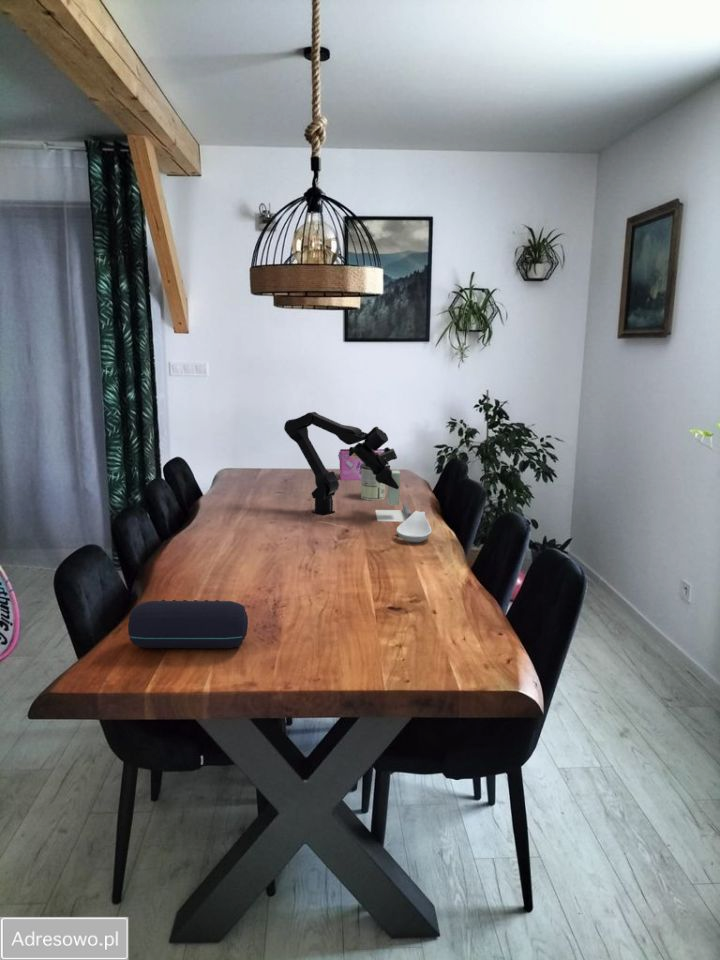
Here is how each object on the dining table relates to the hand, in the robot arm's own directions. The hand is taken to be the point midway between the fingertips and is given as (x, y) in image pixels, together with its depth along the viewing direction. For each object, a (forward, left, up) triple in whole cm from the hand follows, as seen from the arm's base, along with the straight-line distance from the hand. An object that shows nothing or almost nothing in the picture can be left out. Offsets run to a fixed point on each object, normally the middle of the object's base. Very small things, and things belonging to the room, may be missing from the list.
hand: (397, 486), depth 246 cm
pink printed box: (+44, +59, -13) cm, 74 cm away
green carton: (-1, +1, -6) cm, 7 cm away
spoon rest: (-10, -18, -13) cm, 24 cm away
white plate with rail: (0, +2, -12) cm, 13 cm away
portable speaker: (-111, -38, -13) cm, 118 cm away
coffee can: (+18, +29, -13) cm, 36 cm away
